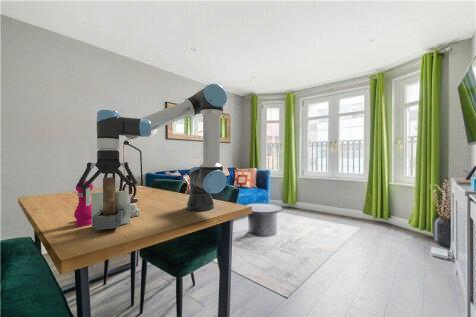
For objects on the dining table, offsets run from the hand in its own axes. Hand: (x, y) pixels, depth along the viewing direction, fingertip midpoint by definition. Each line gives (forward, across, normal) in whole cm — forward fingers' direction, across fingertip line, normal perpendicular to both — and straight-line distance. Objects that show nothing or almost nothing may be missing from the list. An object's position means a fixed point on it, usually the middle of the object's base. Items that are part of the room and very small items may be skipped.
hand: (108, 203), depth 84 cm
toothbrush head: (+11, +3, -18) cm, 21 cm away
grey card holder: (+10, 0, -1) cm, 10 cm away
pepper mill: (+10, +11, -12) cm, 19 cm away
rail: (+8, 0, 0) cm, 8 cm away
